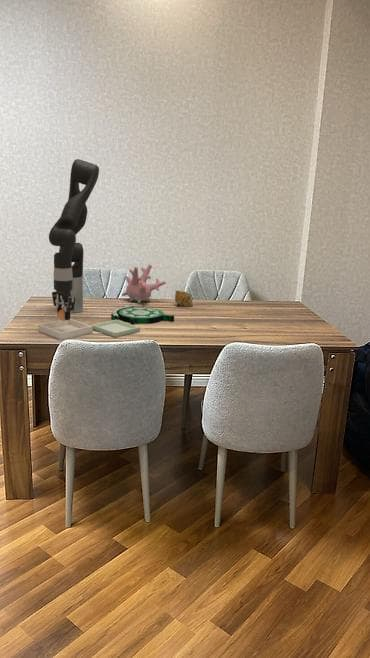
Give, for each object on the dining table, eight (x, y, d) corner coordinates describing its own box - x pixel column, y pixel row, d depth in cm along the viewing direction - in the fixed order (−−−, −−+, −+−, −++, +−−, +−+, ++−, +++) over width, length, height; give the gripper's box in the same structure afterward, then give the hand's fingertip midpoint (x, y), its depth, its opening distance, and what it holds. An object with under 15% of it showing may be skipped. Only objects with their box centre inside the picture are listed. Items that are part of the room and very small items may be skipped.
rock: (178, 311, 269) (176, 294, 271) (194, 309, 268) (192, 292, 270) (175, 307, 258) (173, 289, 259) (192, 305, 257) (189, 286, 259)
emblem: (121, 304, 247) (179, 310, 242) (121, 310, 248) (179, 316, 243) (103, 316, 223) (167, 322, 218) (103, 323, 224) (167, 329, 219)
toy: (136, 296, 280) (136, 261, 275) (165, 302, 269) (167, 266, 263) (114, 301, 265) (114, 264, 260) (144, 307, 254) (145, 269, 248)
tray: (91, 329, 212) (91, 324, 212) (116, 323, 222) (116, 319, 222) (115, 337, 202) (115, 333, 202) (140, 331, 212) (140, 327, 212)
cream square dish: (38, 331, 206) (38, 324, 205) (70, 324, 217) (70, 318, 216) (60, 340, 195) (60, 333, 195) (92, 333, 207) (92, 326, 206)
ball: (55, 320, 205) (55, 308, 203) (65, 318, 208) (65, 307, 207) (62, 323, 202) (61, 311, 200) (72, 321, 205) (72, 309, 204)
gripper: (81, 280, 198) (81, 320, 203) (61, 274, 207) (61, 313, 212) (65, 282, 193) (65, 323, 197) (45, 276, 202) (46, 315, 207)
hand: (63, 318), depth 205 cm, fingers closed on ball, 5 cm apart
